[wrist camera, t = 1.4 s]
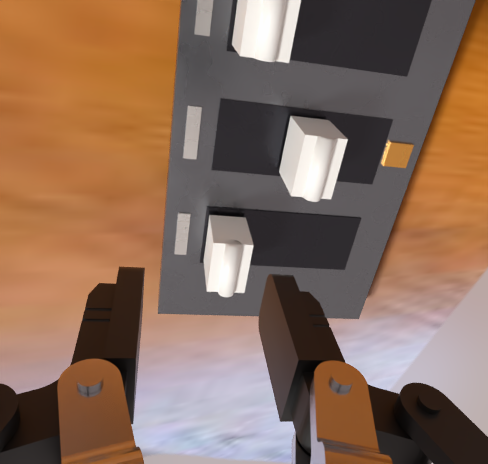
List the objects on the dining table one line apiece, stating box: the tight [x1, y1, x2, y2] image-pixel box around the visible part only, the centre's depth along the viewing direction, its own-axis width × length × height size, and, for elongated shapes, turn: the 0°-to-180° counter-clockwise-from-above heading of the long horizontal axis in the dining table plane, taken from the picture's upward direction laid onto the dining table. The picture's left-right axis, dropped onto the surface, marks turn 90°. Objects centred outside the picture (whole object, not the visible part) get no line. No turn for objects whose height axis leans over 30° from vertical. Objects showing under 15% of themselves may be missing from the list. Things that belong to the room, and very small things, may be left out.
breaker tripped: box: [279, 116, 348, 202], centre depth 26 cm, size 4×2×4 cm, turn 171°
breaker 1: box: [204, 215, 254, 297], centre depth 29 cm, size 4×2×4 cm, turn 171°
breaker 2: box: [232, 0, 301, 63], centre depth 22 cm, size 4×2×4 cm, turn 171°
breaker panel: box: [158, 0, 475, 319], centre depth 29 cm, size 28×16×2 cm, turn 171°
